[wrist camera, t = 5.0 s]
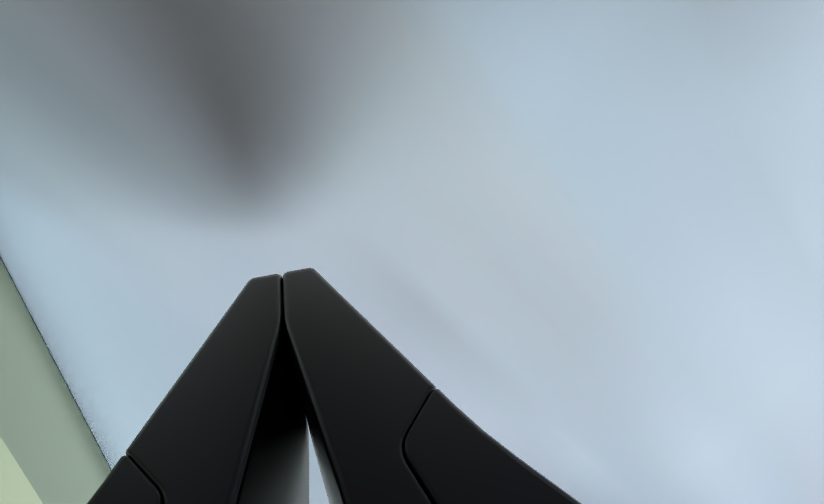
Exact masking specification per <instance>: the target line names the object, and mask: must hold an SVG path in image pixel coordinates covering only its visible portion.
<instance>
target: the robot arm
mask: <svg viewBox="0 0 824 504" xmlns="http://www.w3.org/2000/svg"><path fill="white" fill-rule="evenodd" d="M307 422H308V424H307ZM308 426H309V430H310V434H311V438H312V442H313V446H314V450H315V453H316V457H317V460H318V464H319V467H320V471H321V474H322V478H323V482H324V485H325V489H326V492H327V496H328V499H329V503H330V504H581V503H580V502H578V501H577V500H576V499H574V498H573V497H571V496H570V495H569V494H567V493H566V492H565V491H563V490H562V489H560V488H559V487H558V486H556V485H555V484H554V483H552V482H551V481H550V480H548V479H547V478H545V477H544V476H543V475H541V474H540V473H539V472H537V471H536V470H535V469H533V468H532V467H530V466H529V465H528V464H526V463H525V462H524V461H522V460H521V459H519V458H518V457H517V456H515V455H514V454H513V453H512V452H510V451H509V450H508V449H506V448H505V447H504V446H502V445H501V444H500V443H499V442H497V441H496V440H495V439H493V438H492V437H491V436H490V435H488V434H487V433H486V432H484V431H483V430H482V429H481V428H480V427H479V426H478V425H476V424H475V423H474V422H473V421H472V420H471V419H470V418H469V417H467V416H466V415H465V414H464V413H463V412H462V411H461V410H460V409H459V408H457V407H456V406H455V405H454V404H453V403H452V402H451V401H450V400H449V399H448V398H447V397H446V396H445V395H444V394H443V393H442V392H441V391H440V390H439V389H436V388H435V386H434V385H433V384H432V383H431V382H430V381H429V380H428V379H427V378H426V377H425V376H424V375H423V374H422V373H421V372H420V371H419V370H418V369H417V368H416V367H415V366H414V365H413V364H412V363H411V362H410V361H409V360H407V359H406V358H405V357H404V356H403V355H402V354H401V353H400V352H399V351H398V350H397V349H396V348H395V347H394V346H393V345H392V344H391V343H390V342H389V341H388V340H387V339H386V338H385V337H384V336H383V335H382V334H381V333H380V332H379V331H378V330H376V329H375V328H374V327H373V326H372V325H371V324H370V323H369V322H368V321H367V320H366V319H365V318H364V317H363V316H362V315H361V314H360V313H359V312H358V311H357V310H356V309H355V308H354V307H353V306H352V305H351V304H350V303H349V302H348V301H347V300H345V299H344V298H343V297H342V296H341V295H340V294H339V293H338V292H337V291H336V290H335V289H334V288H333V287H332V286H331V285H330V284H329V283H328V282H327V281H326V280H325V279H324V278H323V277H322V276H321V275H320V274H319V273H318V272H317V271H315V270H314V269H312V268H306V269H301V270H295V271H290V272H286V273H285V274H284V275H283V278H282V276H281V275H279V274H274V275H268V276H263V277H257V278H253V279H251V280H250V281H249V282H248V283H247V284H246V286H245V287H244V288H243V290H242V291H241V293H240V294H239V295H238V297H237V298H236V300H235V301H234V302H233V304H232V305H231V306H230V308H229V309H228V311H227V312H226V313H225V315H224V316H223V318H222V319H221V320H220V322H219V323H218V324H217V326H216V327H215V329H214V330H213V331H212V333H211V334H210V335H209V337H208V338H207V340H206V341H205V342H204V344H203V345H202V347H201V348H200V349H199V351H198V352H197V353H196V355H195V356H194V358H193V359H192V360H191V362H190V363H189V365H188V366H187V367H186V369H185V370H184V371H183V373H182V374H181V376H180V377H179V378H178V380H177V381H176V383H175V384H174V385H173V387H172V388H171V389H170V391H169V392H168V394H167V395H166V396H165V398H164V399H163V401H162V402H161V403H160V405H159V406H158V407H157V409H156V410H155V412H154V413H153V414H152V416H151V417H150V419H149V420H148V421H147V423H146V424H145V425H144V427H143V428H142V430H141V431H140V432H139V434H138V435H137V436H136V438H135V439H134V441H133V442H132V443H131V445H130V446H129V448H128V449H127V450H126V456H122V457H121V458H120V460H119V461H118V462H117V464H116V465H115V466H114V468H113V469H112V471H111V472H110V473H109V475H108V476H107V478H106V479H105V480H104V482H103V483H102V484H101V486H100V487H99V488H98V490H97V491H96V492H95V493H94V495H93V496H92V497H91V499H90V500H89V501H88V503H87V504H309V437H308Z"/></svg>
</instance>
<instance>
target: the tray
mask: <svg viewBox="0 0 824 504" xmlns="http://www.w3.org/2000/svg"><path fill="white" fill-rule="evenodd" d="M110 472H111V470H110V468H109V466H108V464H107V462H106V460H105V458H104V456H103V454H102V452H101V450H100V449H99V447H98V445H97V443H96V441H95V439H94V437H93V435H92V433H91V431H90V429H89V427H88V425H87V424H86V422H85V420H84V418H83V416H82V414H81V412H80V410H79V408H78V406H77V404H76V402H75V400H74V399H73V397H72V395H71V393H70V391H69V389H68V387H67V385H66V383H65V381H64V379H63V377H62V375H61V374H60V372H59V370H58V368H57V366H56V364H55V362H54V360H53V358H52V356H51V354H50V352H49V350H48V349H47V347H46V345H45V343H44V341H43V339H42V337H41V335H40V333H39V331H38V329H37V327H36V325H35V324H34V322H33V320H32V318H31V316H30V314H29V312H28V310H27V308H26V306H25V304H24V302H23V300H22V299H21V297H20V295H19V293H18V291H17V289H16V287H15V285H14V283H13V281H12V279H11V277H10V275H9V274H8V272H7V270H6V268H5V266H4V264H3V262H2V260H1V258H0V504H87V503H88V501H89V500H90V499H91V497H92V496H93V495H94V493H95V492H96V491H97V490H98V488H99V487H100V486H101V484H102V483H103V482H104V480H105V479H106V478H107V476H108V475H109V473H110Z"/></svg>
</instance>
